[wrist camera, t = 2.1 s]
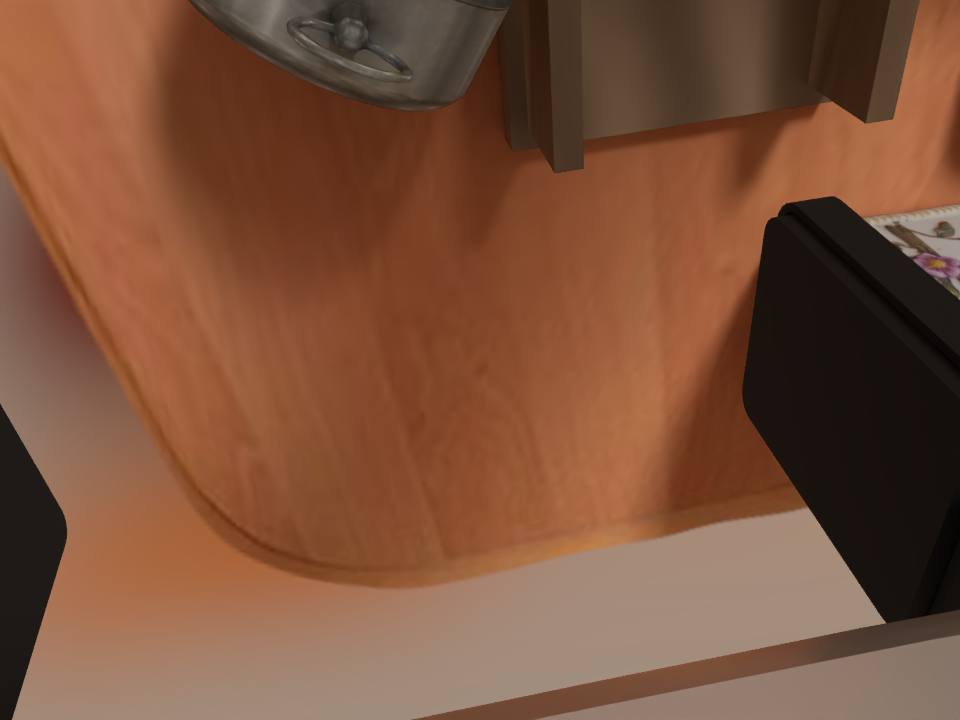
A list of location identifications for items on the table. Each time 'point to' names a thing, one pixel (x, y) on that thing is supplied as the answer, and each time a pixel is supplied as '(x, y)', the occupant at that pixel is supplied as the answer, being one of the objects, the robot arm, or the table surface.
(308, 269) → the table surface
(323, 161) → the table surface
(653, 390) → the table surface
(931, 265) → the decorative jar
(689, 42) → the wooden tray
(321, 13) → the alarm clock
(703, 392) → the table surface
